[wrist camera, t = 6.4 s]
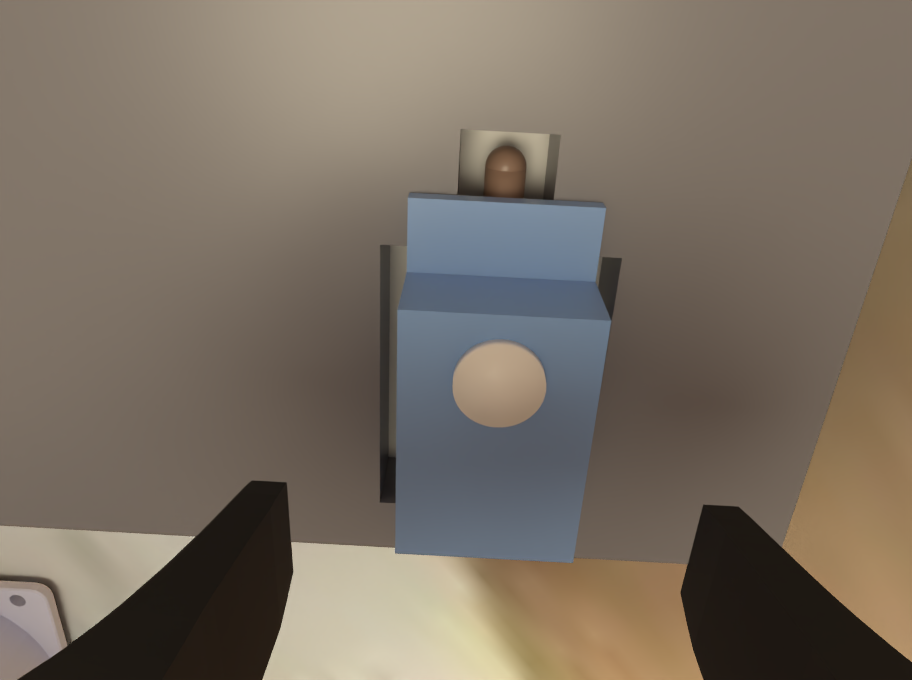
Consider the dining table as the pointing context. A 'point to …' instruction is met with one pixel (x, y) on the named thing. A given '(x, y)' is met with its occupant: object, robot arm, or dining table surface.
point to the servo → (497, 370)
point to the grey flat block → (385, 242)
